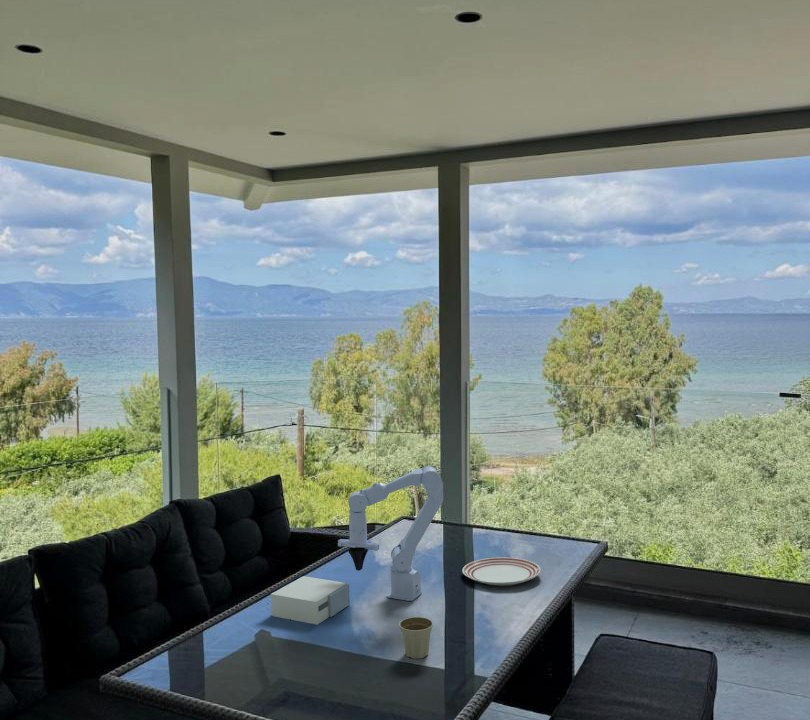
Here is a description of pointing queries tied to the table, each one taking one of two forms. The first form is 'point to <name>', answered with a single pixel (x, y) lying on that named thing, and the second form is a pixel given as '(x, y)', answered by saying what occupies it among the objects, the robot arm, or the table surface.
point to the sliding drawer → (339, 600)
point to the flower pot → (416, 636)
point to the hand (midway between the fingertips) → (359, 569)
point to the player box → (304, 600)
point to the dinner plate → (501, 571)
